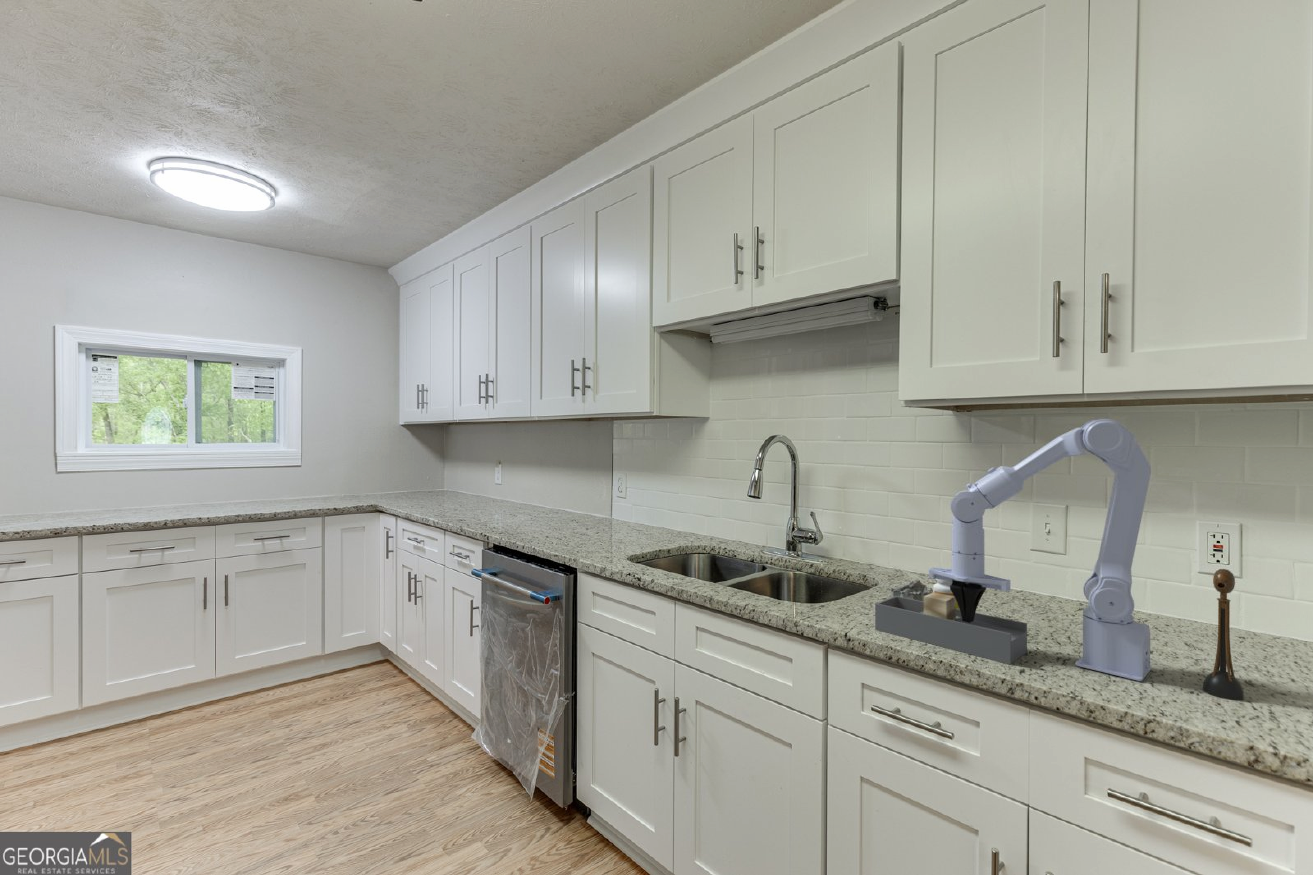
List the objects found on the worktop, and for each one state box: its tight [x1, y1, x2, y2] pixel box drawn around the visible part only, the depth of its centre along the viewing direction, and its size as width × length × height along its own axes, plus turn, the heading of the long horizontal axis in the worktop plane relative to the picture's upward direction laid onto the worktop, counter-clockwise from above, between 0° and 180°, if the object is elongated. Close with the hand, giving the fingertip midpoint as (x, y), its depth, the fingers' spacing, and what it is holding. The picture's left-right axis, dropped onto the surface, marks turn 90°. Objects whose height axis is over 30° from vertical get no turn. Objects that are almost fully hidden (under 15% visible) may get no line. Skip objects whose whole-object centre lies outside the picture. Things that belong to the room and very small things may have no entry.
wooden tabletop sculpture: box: [1202, 568, 1244, 701], centre depth 96 cm, size 6×5×20 cm
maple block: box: [924, 592, 956, 620], centre depth 123 cm, size 4×4×4 cm
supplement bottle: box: [932, 579, 959, 609], centre depth 135 cm, size 5×5×10 cm
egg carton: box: [887, 579, 933, 602], centre depth 150 cm, size 11×8×4 cm
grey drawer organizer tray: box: [874, 596, 1028, 665], centre depth 121 cm, size 26×9×6 cm, turn 42°
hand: (968, 621), depth 118 cm, fingers closed
